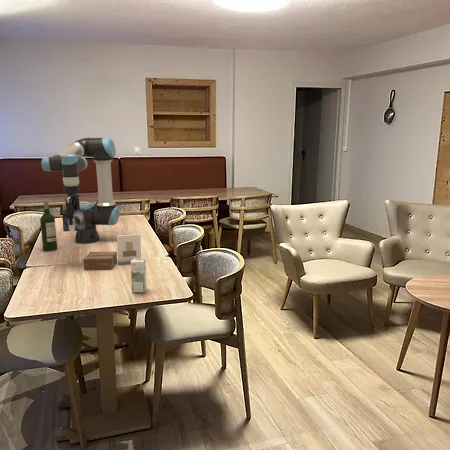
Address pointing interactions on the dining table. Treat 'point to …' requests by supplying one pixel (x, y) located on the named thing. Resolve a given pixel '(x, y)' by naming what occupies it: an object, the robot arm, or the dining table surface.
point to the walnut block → (100, 261)
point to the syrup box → (138, 275)
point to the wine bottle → (48, 229)
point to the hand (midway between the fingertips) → (74, 229)
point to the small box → (75, 220)
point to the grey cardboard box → (128, 248)
